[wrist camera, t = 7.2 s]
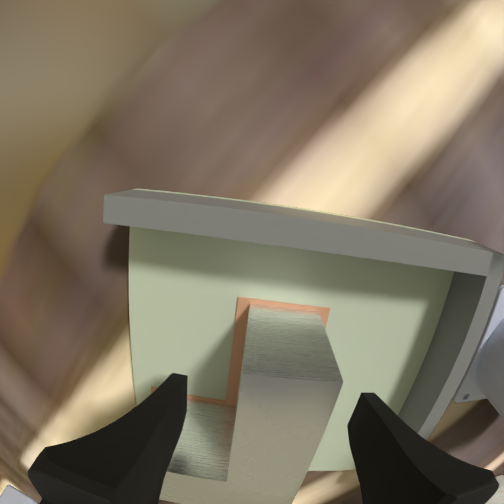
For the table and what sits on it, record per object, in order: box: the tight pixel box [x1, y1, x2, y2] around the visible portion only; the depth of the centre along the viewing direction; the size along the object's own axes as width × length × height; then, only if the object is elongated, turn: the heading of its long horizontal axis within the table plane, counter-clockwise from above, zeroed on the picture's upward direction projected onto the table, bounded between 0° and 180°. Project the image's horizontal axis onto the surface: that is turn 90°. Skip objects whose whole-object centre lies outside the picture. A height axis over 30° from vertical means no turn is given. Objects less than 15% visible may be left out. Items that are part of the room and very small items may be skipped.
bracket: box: [159, 303, 343, 504], centre depth 12 cm, size 9×7×5 cm
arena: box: [103, 189, 504, 471], centre depth 13 cm, size 16×16×3 cm
